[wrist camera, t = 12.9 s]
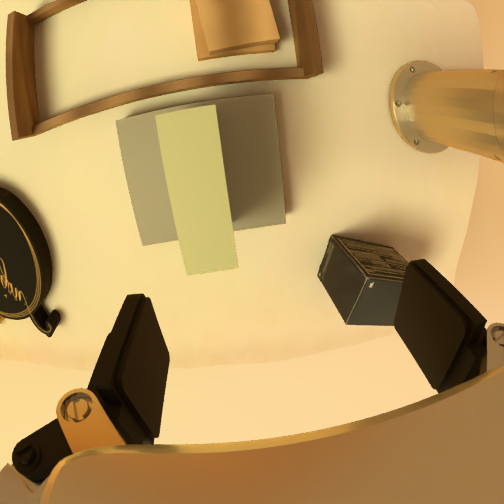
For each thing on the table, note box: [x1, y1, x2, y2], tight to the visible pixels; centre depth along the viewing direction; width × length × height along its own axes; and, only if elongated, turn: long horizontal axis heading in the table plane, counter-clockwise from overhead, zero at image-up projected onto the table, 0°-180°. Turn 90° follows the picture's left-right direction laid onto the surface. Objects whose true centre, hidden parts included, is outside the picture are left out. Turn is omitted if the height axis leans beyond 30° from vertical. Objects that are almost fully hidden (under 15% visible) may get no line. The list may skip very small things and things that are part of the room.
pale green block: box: [155, 104, 239, 276], centre depth 24 cm, size 4×12×10 cm, turn 7°
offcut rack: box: [6, 0, 323, 141], centre depth 21 cm, size 32×16×5 cm, turn 96°
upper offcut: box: [195, 0, 280, 56], centre depth 22 cm, size 7×9×2 cm
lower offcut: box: [190, 0, 275, 61], centre depth 24 cm, size 8×10×2 cm
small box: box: [317, 235, 409, 326], centre depth 34 cm, size 11×6×10 cm, turn 77°
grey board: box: [116, 94, 286, 246], centre depth 30 cm, size 16×14×2 cm
